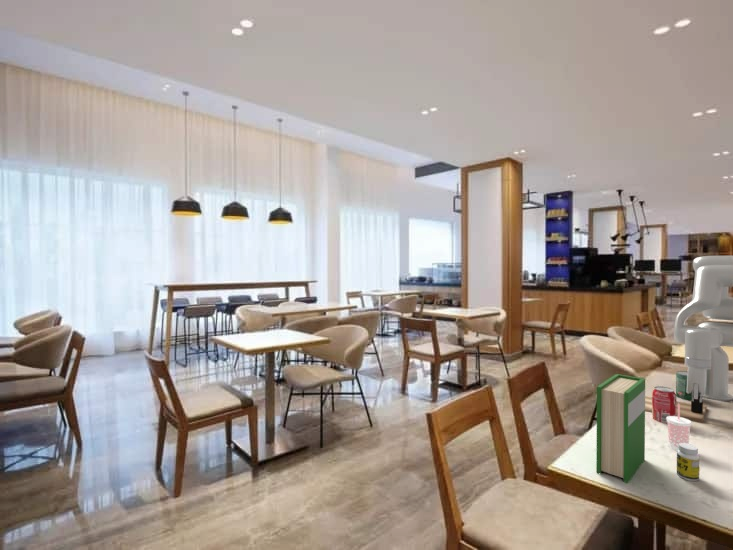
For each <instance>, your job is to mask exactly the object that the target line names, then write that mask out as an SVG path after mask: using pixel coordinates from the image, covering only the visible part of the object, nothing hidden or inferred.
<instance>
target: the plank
mask: <svg viewBox="0 0 733 550" xmlns="http://www.w3.org/2000/svg"><path fill="white" fill-rule="evenodd" d="M678 404H680V417H682V418H685V419H688V420H690V421H691V422H697V423H701V424H703V423H704V419H705V415H706V412H707V408H708V407H707V405H704V404H703V412H702V414H700V413H695V412H692V411H691V402H685V401H683V402H682V401H678V400H677V411H676V416H677V417H678Z"/></svg>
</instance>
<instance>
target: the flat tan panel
mask: <svg viewBox="0 0 733 550" xmlns="http://www.w3.org/2000/svg"><path fill="white" fill-rule="evenodd" d="M645 412H648V413H652V396H649V395H645Z"/></svg>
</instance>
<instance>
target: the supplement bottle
mask: <svg viewBox="0 0 733 550" xmlns="http://www.w3.org/2000/svg"><path fill="white" fill-rule="evenodd" d="M700 461H701V460H700V456H699V449H698V447H697V446H696V445H693V444H690V443H689V444H687V443H680V444H679V450H678V451H677V452H676V475H677V476H679V477H680V478H681V479H684V480H686V481H691V482H696V481H699V480H700V464H701V463H700Z"/></svg>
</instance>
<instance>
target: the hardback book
mask: <svg viewBox="0 0 733 550" xmlns="http://www.w3.org/2000/svg"><path fill="white" fill-rule="evenodd" d="M645 396H646V378H642V377H638V376H637V377H636V376H631V375H624V374H619V373H615V374H614V375H612V376H611V377H609V378H608V379H606V380H604V381H603V382H602V383H600V384H599V385H598V386H596V470H595V471H596V472H597V474H599V473H600V474H602V472H604V473H607V474H610V475H613V476H615V477H619V478H622V479H623V482H624V483H625V482H626V484H629V482H630V481H631V480H632V478H633V477H634V475H635V474H636V473H637V471H638V470H639V469H640V467H641V465H642V464H643V463H644V462H645V455H646V452H645V450H646V449H645V447H646V445H645V444H646V443H645V441H646V440H645V439H646V411H645Z"/></svg>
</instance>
